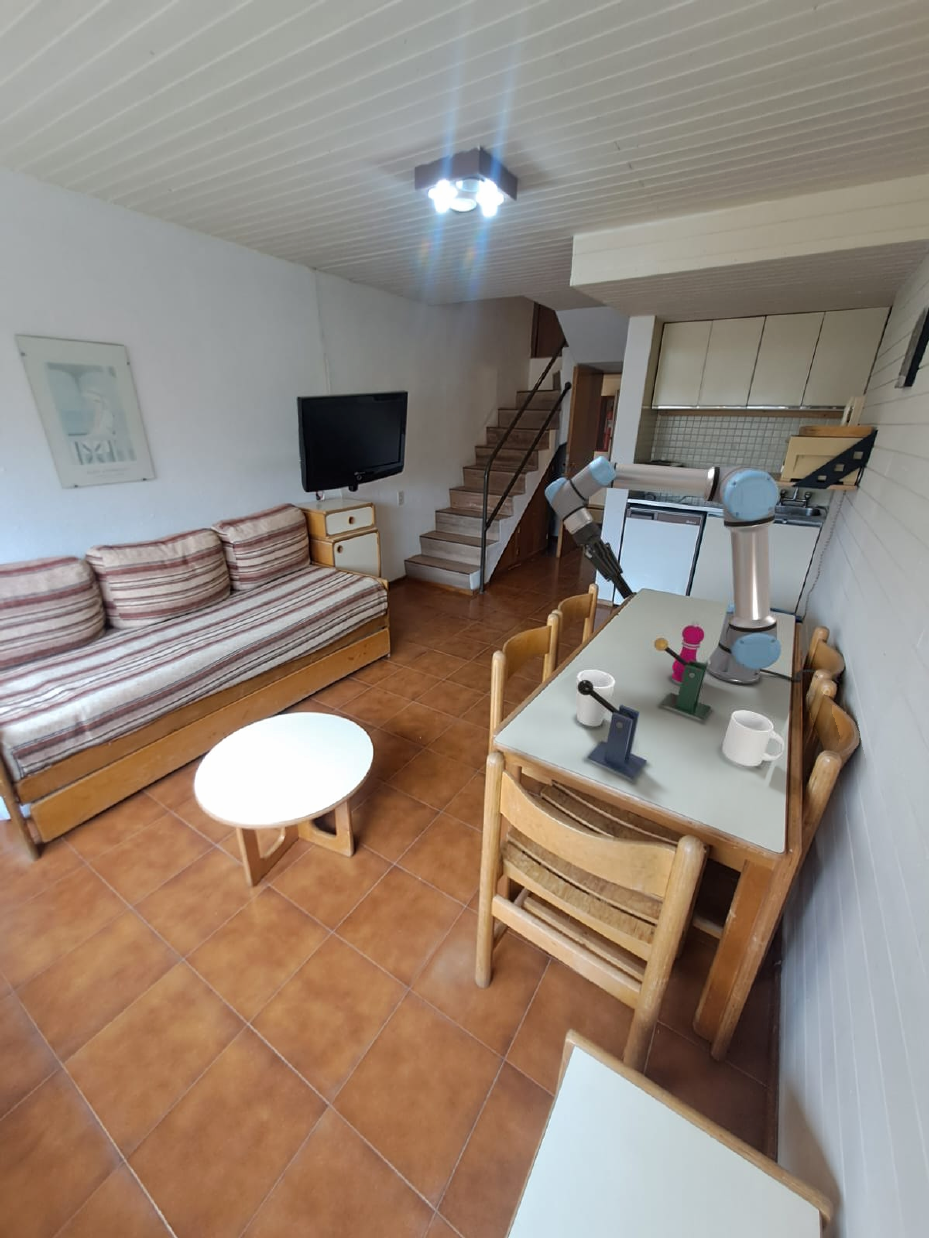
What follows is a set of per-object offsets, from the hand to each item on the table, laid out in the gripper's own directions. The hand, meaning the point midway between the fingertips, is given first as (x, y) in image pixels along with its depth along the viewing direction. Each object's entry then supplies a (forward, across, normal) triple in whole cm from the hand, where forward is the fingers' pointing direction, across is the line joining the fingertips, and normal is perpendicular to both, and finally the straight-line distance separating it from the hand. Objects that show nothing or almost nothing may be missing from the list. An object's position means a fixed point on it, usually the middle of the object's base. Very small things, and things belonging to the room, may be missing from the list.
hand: (628, 596), depth 138 cm
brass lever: (+21, 0, 0) cm, 21 cm away
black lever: (+18, +35, -4) cm, 40 cm away
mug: (+48, +13, +8) cm, 50 cm away
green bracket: (+35, 0, -5) cm, 35 cm away
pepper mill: (+31, -15, -9) cm, 36 cm away
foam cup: (+22, +24, -17) cm, 37 cm away
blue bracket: (+31, +35, -8) cm, 48 cm away
